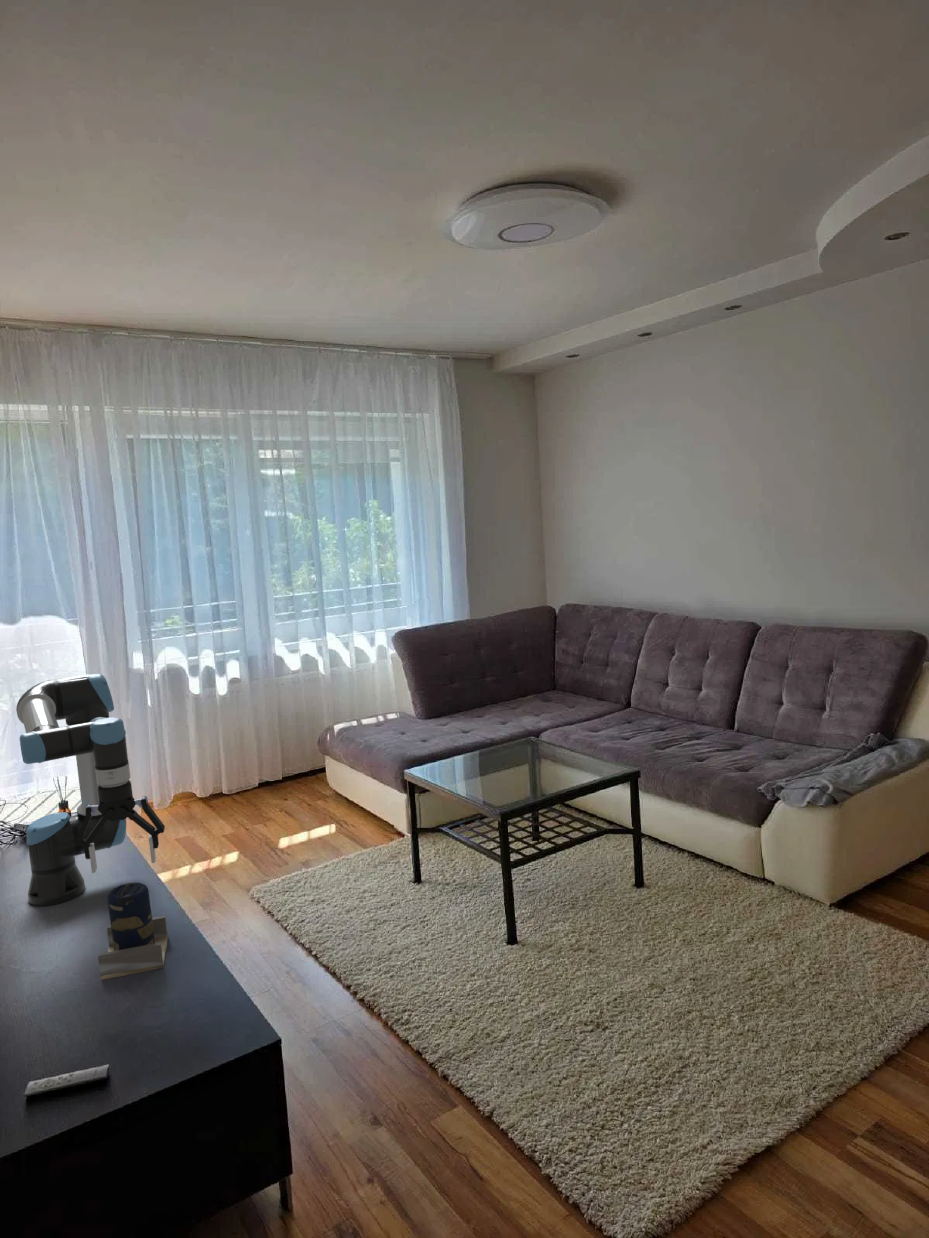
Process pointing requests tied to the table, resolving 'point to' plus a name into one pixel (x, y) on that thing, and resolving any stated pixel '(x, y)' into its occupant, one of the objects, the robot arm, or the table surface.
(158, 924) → the keeper cradle
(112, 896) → the canister
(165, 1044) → the table surface
